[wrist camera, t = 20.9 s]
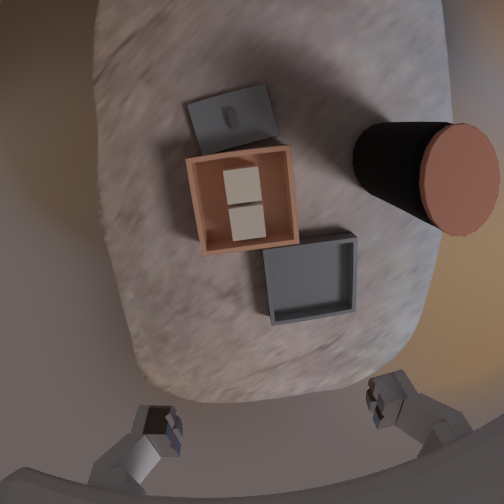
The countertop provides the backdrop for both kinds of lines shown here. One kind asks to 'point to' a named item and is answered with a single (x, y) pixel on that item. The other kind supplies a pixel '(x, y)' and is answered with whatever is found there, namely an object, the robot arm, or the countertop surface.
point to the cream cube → (242, 184)
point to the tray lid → (233, 119)
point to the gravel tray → (311, 278)
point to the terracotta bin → (216, 208)
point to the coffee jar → (431, 172)
